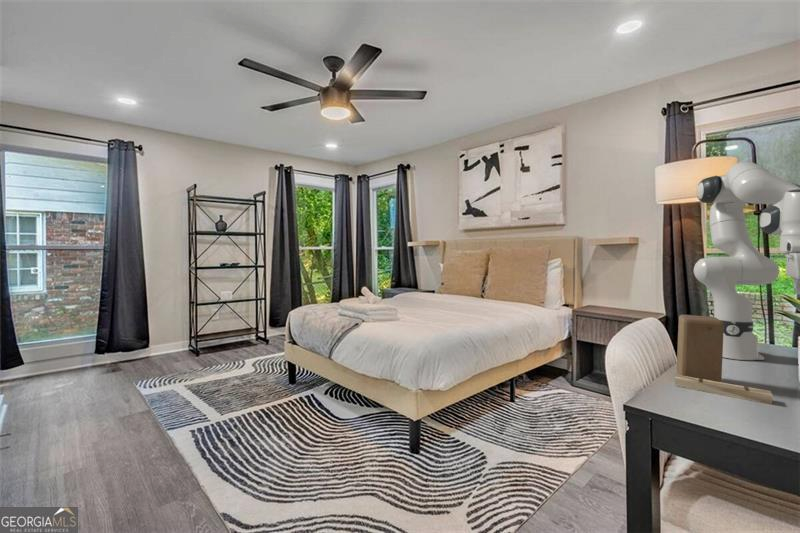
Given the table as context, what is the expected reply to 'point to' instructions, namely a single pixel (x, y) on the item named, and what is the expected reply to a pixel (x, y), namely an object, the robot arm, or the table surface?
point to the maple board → (724, 389)
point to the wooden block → (700, 347)
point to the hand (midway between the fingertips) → (799, 293)
